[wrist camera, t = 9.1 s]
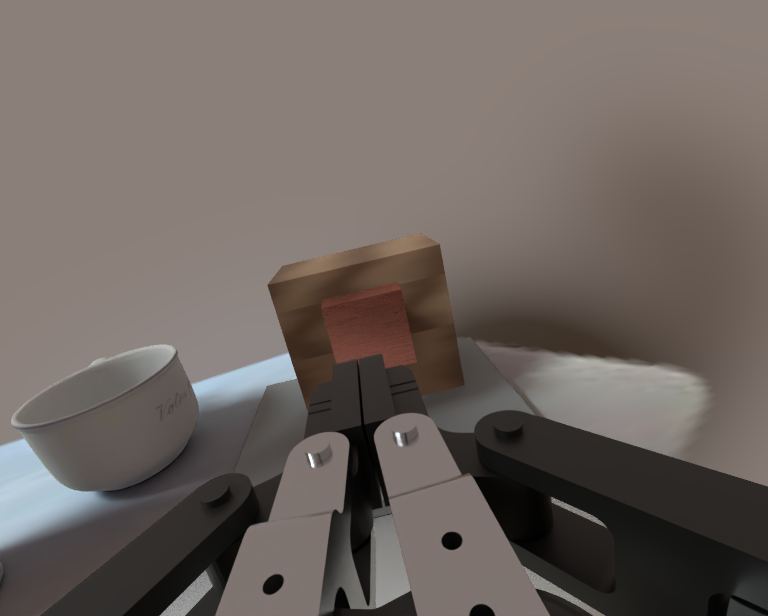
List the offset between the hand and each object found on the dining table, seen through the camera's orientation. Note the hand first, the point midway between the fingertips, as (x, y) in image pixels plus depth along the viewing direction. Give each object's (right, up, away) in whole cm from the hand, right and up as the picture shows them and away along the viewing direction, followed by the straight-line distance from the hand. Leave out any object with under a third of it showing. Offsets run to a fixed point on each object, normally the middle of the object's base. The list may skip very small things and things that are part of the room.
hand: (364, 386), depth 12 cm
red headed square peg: (0, 0, +18) cm, 18 cm away
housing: (+1, -5, +22) cm, 23 cm away
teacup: (-20, -10, +22) cm, 31 cm away
